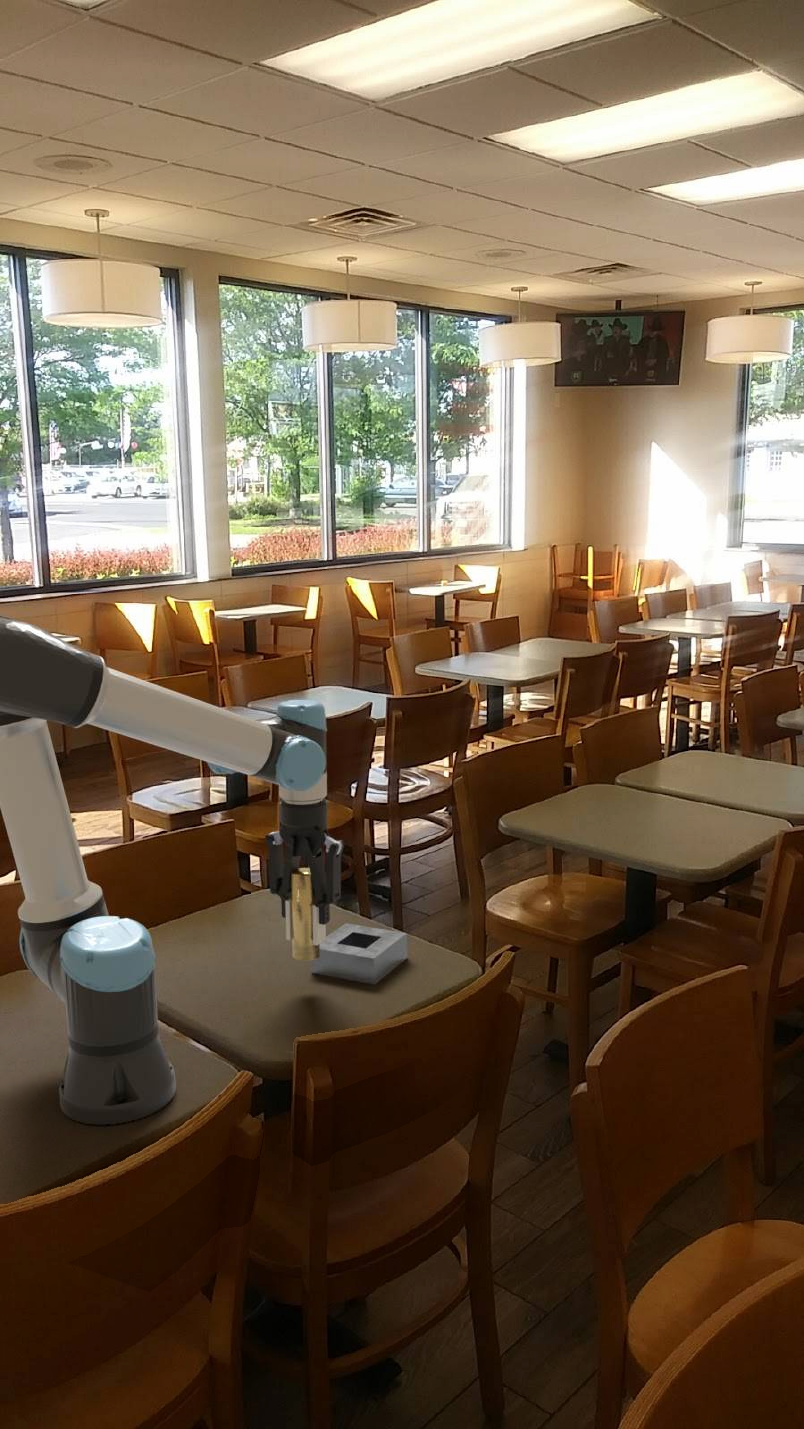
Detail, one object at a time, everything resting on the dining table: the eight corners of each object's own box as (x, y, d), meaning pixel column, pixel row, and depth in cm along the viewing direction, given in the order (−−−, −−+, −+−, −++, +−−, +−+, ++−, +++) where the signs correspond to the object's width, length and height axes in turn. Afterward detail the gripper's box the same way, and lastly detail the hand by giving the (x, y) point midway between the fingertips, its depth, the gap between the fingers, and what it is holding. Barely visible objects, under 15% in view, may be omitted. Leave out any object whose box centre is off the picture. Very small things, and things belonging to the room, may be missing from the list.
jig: (374, 984, 187) (373, 958, 186) (311, 972, 192) (310, 947, 191) (407, 957, 197) (406, 933, 196) (346, 947, 202) (345, 923, 202)
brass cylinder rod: (311, 962, 182) (309, 877, 180) (287, 957, 184) (285, 873, 181) (325, 953, 186) (323, 870, 183) (301, 948, 188) (300, 866, 185)
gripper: (363, 799, 180) (364, 940, 184) (269, 787, 188) (273, 924, 192) (339, 810, 173) (341, 956, 177) (243, 797, 181) (247, 938, 185)
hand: (306, 939), depth 184 cm, fingers closed on brass cylinder rod, 4 cm apart
